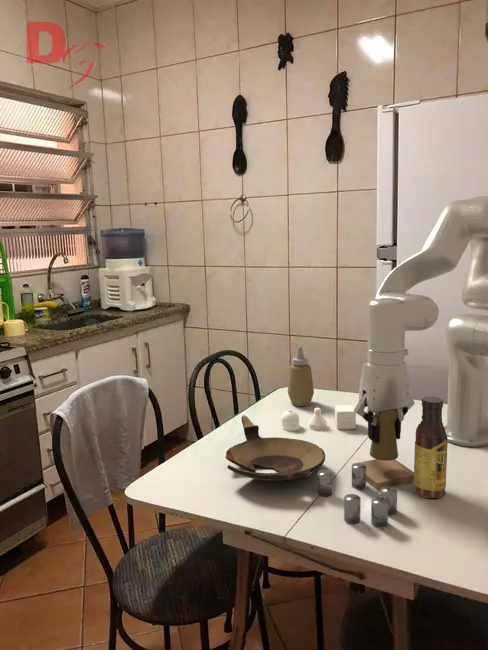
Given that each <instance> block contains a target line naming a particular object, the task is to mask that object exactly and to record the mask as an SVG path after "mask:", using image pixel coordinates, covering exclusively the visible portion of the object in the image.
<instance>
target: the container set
mask: <svg viewBox="0 0 488 650" xmlns="http://www.w3.org/2000/svg"><path fill="white" fill-rule="evenodd" d="M354 409H355V406H354V405H350V404H344V405H334V424H335V427H336V429H337V430H355V429H356V427H357V426H356V425H357V422H356V421H357V418H356V417H357V415H356V414H357V413H355V412H354ZM313 411H314V413H313V415H312V416H311V417H310V419H309V420H308V428H309V429H310V430H313V431H324V430H326V429H327V427H328V421H327V420H326V419H325V418H324V416H323V415H322V412H321V411H322V410H321V408H320V407H315V408H314V409H313ZM280 421H281V423H280V424H281V425H280V428H281V429H282V430H283V431H285V432H293V431H297V430H300V428H301V425H300V416H299V415H298V413H297V412H296V411H294V410H293V409H291V408H289V409H287V410H286V411H284V412H283V413H282V415H281V417H280Z"/></svg>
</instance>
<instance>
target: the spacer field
mask: <svg viewBox="0 0 488 650" xmlns="http://www.w3.org/2000/svg"><path fill="white" fill-rule="evenodd" d="M352 464H353V465H352ZM352 464H351V488H353V489H356V490H364V489H367V482H366V465H365V464H362V463H359V462H355V464H354V463H352ZM317 495H318V496H320V497H323V498H328V497H332V495H333V472H332V471H331V470H328V469H321V470H318V471H317ZM361 499H362V498H361V496H359V495H358V494H355V493H348V494H346V495H344V497H343V500H344V501H343V502H344V503H343V506H344V507H343V515H344V517H343V519H344V522H345V523H346V524H349V525H358V524H360V523H361V509H362V508H361V504H362V503H361ZM370 507H371V510H370V511H371V512H370V513H371V515H370V516H371V518H370V519H371V520H370V522H371V526H373V527H374V528H377V529H383V528H387V527H388V525H389V516H395V515H397V514H398V488H397V487H396V486H393V487H392V486H384V487H382V488H381V489H380V496H379V497H377V496H376V497H373V498H371V506H370Z"/></svg>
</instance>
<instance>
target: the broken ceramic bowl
mask: <svg viewBox="0 0 488 650" xmlns="http://www.w3.org/2000/svg"><path fill="white" fill-rule="evenodd" d="M241 424H242V427H243V432H244V436H245V440H244V441H243V442H240V443H237V444H235V445H233V446H231V447H230V448H228V449H227V450H226V453H225V454H226V455H225V460H227V461H229V462H230V463H232V464H234V465H236V466H237V467H239V468H237V467H235V466H232V465H227V469H228V470H230V471H231V472H233V473H235V474H238V475H241V476H242V477H245V478H249V479H253V480H257V481H263V482H264V481H265V482H274V481H276V482H277V481H279V482H280V481H289V480H290V481H291V480H295V479H298V478H300V477H303V478H304V477H309V476H310V475H311V473H313V472H315V471H317V470H318V469H319V468H321V467H322V466H323V465H324V463H325V461H326V453H325V451H324V449H323V448H322V447H320V446H319V445H317V443H316V444H315V443H314V442H313V443H312V442H309V441H307V440H302V439H295V438H290V437H276V436H275V437H261V436H260V435H259V430H260V428H259V425H257V424H254V423H253V422H252V421H251V420H250V418H249V417H248V416H247V415H245V414H244V415H243V414H242V416H241ZM256 468H258V469H261V470H260V472H256V471H257V470H256ZM243 469H244V470H243ZM262 469H270V470H274V471H276V472H268V473H267V472H262V471H263V470H262Z"/></svg>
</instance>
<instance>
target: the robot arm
mask: <svg viewBox="0 0 488 650" xmlns="http://www.w3.org/2000/svg"><path fill="white" fill-rule="evenodd" d="M469 244H470V255H469V260H468V261H469V262H468V266H467V268H466V269H467V270H466V273H465V276H464V277H465V278H464V282H463V286H462V292H461V299H462V302H463V304H464V306H466V307H468V308H469V309H473V310H480V311H488V195H481V196H475V197H471V198H468V199H467V198H466V199H458V200H453V201H451V202H449V203H448V204H446V205H445V206H444V208H443V209H442V211H441V212H440V214H439V216H438V218H437V219H436V221H435V224H434V225H433V227H432V229H431V231H430V232H429V234H428V235H427V238H426V240H425V242H424V244H423V245H422V247H421V248H420V249H419V250H418V251H417V252H416V253H414V254H413V255H411V256H409V257H408V258H407V259H405V260H404V261H402V263H400V264H398V266H396V267H394V268H393V269H392V270H391V271H390V272H389V273H388V274H387V276H386V277H385V278H384V280H383V282H382V283H381V284H380V287H379V289H378V291H377V293H376V295H375V296H374V299H371V300H370V301H369V303H368V305H367V350H366V351H367V352H366V353H367V355H366V357H367V361H366V362H365V363H363V364H362V368H361V374H360V375H361V376H360V380H359V387H358V388H359V392H358V403H357V404H356V406H354V412H355V413H356V414H357V415H359V416H360V417H361V418H363V420H365V422H367V437H368V439H369V440H370V441H371V442H372V441H373V442H375V443H379V428H380V427H379V425H377V422H378V417H379V413H380V412H381V411H386V410H393V409H396V411H397V419H396V421H395V422H394V423H395V432H396V440H400V439H401V433H402V422H403V421H404V419H405V418H404V417H405V416H406V414H407V413H408V412H409V410H410V409H411V408H412V407H413V406H414V405H415V400H414V399H413V397H411V395H410V378H409V370H408V365H407V363H406V362H405V356H408V355H409V350H408V349H407V348H406V349H405V343H406V342H405V341H406V340H405V339H406V335H405V334H406V332H408V331H414V332H415V331H416V332H417V331H419V332H420V331H421V332H422V331H425V330H428V329H430V328H431V327H433V326H434V325H435V324H436V322H437V320H438V318H439V315H440V312H439V311H440V310H439V306H438V304H437V303H436V301H435V300H434V299H433V298H431V297H429V296H428V295H427V296H426V295H421V294H414V293H413V294H412V293H408V291H410V290H411V289H412V288H413V287H415V286H417V285H418V284H420V283H423V282H425V281H427V280H431V279H435V278H437V277H441V276H443V275H446V274H448V273H450V272H452V271H453V270H455V269H456V267H458V264H459V262H460V260H461V258H462V257H463V255H464V253H465V251H466V249H467V247H468V245H469ZM445 339H446V345H447V352H448V379H447V380H448V382H447V383H448V384H447V387H448V388H447V410H446V411H447V413H446V415H447V416H446V417H447V418H446V424H445V425H443V426H444V429H445V432H446V435H447V438H448V442H449V443H451V444H454V445H457V446H461V447H462V446H463V447H474V448H475V447H486V446H488V360H487V359H486V357H488V315H484V314H483V315H482V314H475V313H461V314H456V315H454V316H453V317H452V318H450V319H449V320H448V322H447V324H446V327H445ZM365 408H367V410H366V411H365ZM372 415H373V416H372Z"/></svg>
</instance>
